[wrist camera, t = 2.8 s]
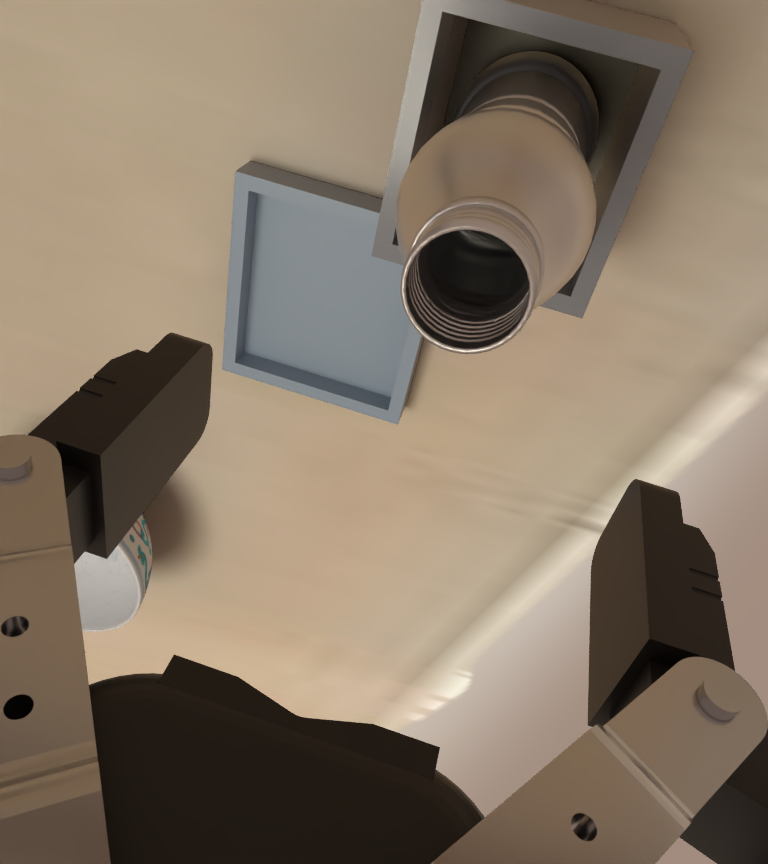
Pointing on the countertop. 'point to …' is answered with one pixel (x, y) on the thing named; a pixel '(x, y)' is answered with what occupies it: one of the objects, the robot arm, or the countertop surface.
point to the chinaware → (114, 581)
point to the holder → (572, 25)
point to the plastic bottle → (499, 203)
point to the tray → (315, 295)
